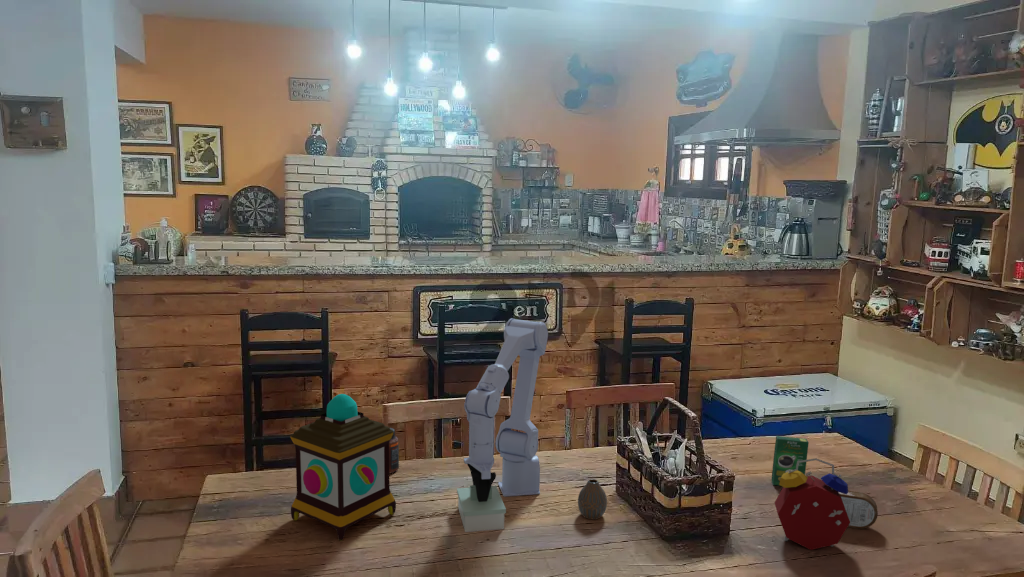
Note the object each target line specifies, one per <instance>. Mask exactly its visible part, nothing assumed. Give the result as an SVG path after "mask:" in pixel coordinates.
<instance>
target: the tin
mask: <svg viewBox="0 0 1024 577" xmlns="http://www.w3.org/2000/svg"><path fill="white" fill-rule="evenodd" d="M839 494H840V496H841V498H842V501H843V504H844V507H845V509H846V512H847V515H848V518H849V520H850V524H849V525H848V527H847V528H853V529H856V530H857V529H860V530H861V529H868V528H870V527H871V526H873V525H874V524H875V523H876V521H877V519H878V515H879V513H878V512H879V511H878V506H877V503H876V501H875V500H874V498H872V497H871V496H870V495H869V494H868V493H864V492H860V491H856V490H855V491H854V490H849V489H848V493H847V494H844V493H841V492H839Z"/></svg>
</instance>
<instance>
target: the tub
mask: <svg viewBox="0 0 1024 577" xmlns="http://www.w3.org/2000/svg"><path fill="white" fill-rule="evenodd" d="M457 500H458V503H457V506H458V507H457V508H458V512H459V516H460V519H461V521H462V522H461V523H462V526H463V529H464V532H465V533H472V532H483V531H484V532H485V531H497V530H504V529H505V513H500V514H487V515H474V516H464V514H463V511H462V508H461V504H460V501H459V497H458V499H457Z"/></svg>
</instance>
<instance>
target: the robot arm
mask: <svg viewBox="0 0 1024 577" xmlns="http://www.w3.org/2000/svg"><path fill="white" fill-rule="evenodd" d="M548 337H549V331H548V326H547V325H546V323H545V322H544V321H532V320H523V319H517V318H512V317H511V318H509V319H508V321H507V322H506V323H505V326H504V330H503V340H504V341H503V344H502V346H501V349H500V351H499V354H498V356H497V358H496V359H495V362H494V364H493V363H492V364H490V365H488V366H487V368H486V369H485V372H484V373H483V375H482V376H481V378H480V380H479V382H478V383H477V386H476V388H474V389H472V390H469V391H468V393H467V394H466V396H465V400H464V403H463V404H464V406H463V408H464V410H465V412H466V419H467V421H468V426H469V427H468V432H469V433H468V457H464V458H463V462H464V464H465V465H467V466H468V469H469V470H470V476H471V479H472V480H471V481H472V485H475V486H476V493H477V499H478V502H486V501H487V500H488V497H489V492H490V488H491V486H493V483H494V481H495V480H496V477H497V474H496V472H495V471H493V472H492V471H491V470H492V468H493V465H494V464H495V457H494V452H495V451H494V449H496V450H497V452H498V453H499V456H500V457H501V458H502V467H501V468H502V474H501V477H502V478H501V481H498V483H497V484H498V486H499V488H500V491H501V493H502V496H503V497H517V496H529V495H530V496H531V495H540V494H541V491H540V487H541V486H540V482H541V480H540V479H541V478H540V475H541V465H540V460H539V457H538V455H537V453H538V449H539V429H538V428H537V427H536V426H535V424H534V423H533V422H532V421H531V414H532V413H531V412H532V407H533V401H534V400H533V399H534V396H535V395H534V394H535V388H536V382H537V378H538V377H537V375H538V369H539V363H540V357H541V356H544V355H545V354H546V349H547V343H548ZM517 357H519V361H518V362H519V363H518V369H517V375H516V379H515V387H514V393H513V398H512V406H511V410H510V417H508V419H506V420H504V421H503V422H501V423H500V426H499V429H498V433H497V435H496V438H495V437H494V436H495V435H494V434H495V416H496V414H497V413H498V411H499V408H500V403H501V399H502V396H501V394H502V392H503V391H504V388H505V386H506V385H507V383H508V381H509V379H510V374H509V372H508V371H509V370H510V368H511V367H512V365H513V363H514V362H515V361H516V359H517ZM522 431H523V432H522ZM494 438H495V439H494ZM494 442H495V444H494ZM494 446H495V448H494Z"/></svg>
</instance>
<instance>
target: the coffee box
mask: <svg viewBox="0 0 1024 577" xmlns="http://www.w3.org/2000/svg"><path fill="white" fill-rule="evenodd" d="M808 450H809V441H808V439H807V438H803V437H802V438H801V437H793V436H792V437H791V436H783V435H776V436H775V442H774V452H773V460H772V461H773V463H772V471H771V484H772V486H779V487H782V486H781V485H779V483H780V479H781V477H782V475H783V474H784V473H786V472H788V471H789V469H790V470H791V471H792V470H795V469H796V465H797V461H802V460H808V453H809V452H808ZM806 468H807V462H801V463H799V466H798V471H800V472H802V473H803V474H804V475H806Z"/></svg>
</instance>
